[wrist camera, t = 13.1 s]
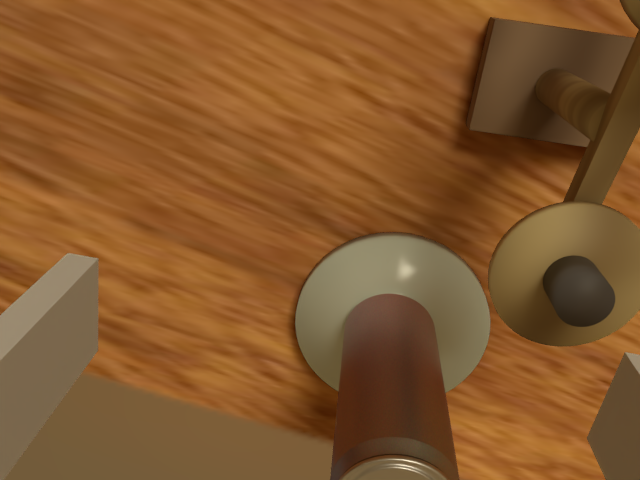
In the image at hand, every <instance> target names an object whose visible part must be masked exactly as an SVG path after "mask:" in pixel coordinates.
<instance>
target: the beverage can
mask: <svg viewBox="0 0 640 480" xmlns="http://www.w3.org/2000/svg"><path fill="white" fill-rule="evenodd" d="M330 480H459V474H458V468H457V462H456V455H455V449H454V443H453V437H452V431H451V425H450V418H449V412H448V406H447V400H446V394H445V388H444V381H443V375H442V369H441V363H440V357H439V351H438V344H437V338H436V332H435V326H434V322H433V320H432V318H431V316H430V314H429V313H428V311H427V310H426V309H425V308H424V307H423V306H422V305H421V304H420V303H418V302H417V301H415V300H413V299H411V298H409V297H406V296H403V295H399V294H390V293H388V294H379V295H375V296H372V297H370V298H367V299H365V300H364V301H362V302H360V303H359V304H358V305H357V306H356V307H355V308H354V309H353V310H352V311H351V312H350V314H349V316H348V318H347V320H346V323H345V328H344V339H343V349H342V360H341V371H340V382H339V392H338V403H337V414H336V424H335V435H334V446H333V457H332V468H331V479H330Z"/></svg>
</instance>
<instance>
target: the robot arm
mask: <svg viewBox="0 0 640 480" xmlns="http://www.w3.org/2000/svg"><path fill="white" fill-rule="evenodd" d="M97 351H98V258H93V257H87V256H82V255H76V254H70V253H67V254H66V255H65V256H64V257H63V258H62V259H61V260H60V261H59V262H58V263H56V264H55V265H54V266H53V267H52V268H51V269H50V270H49V271H48V272H47V273H46V274H45V275H43V276H42V277H41V278H40V279H39V280H38V281H37V282H36V283H35V284H34V285H33V286H31V287H30V288H29V289H28V290H27V291H26V292H25V293H24V294H23V295H22V296H21V297H20V298H18V299H17V300H16V301H15V302H14V303H13V304H12V305H11V306H10V307H9V308H8V309H6V310H5V311H4V312H3V313H2V314H1V315H0V480H4V479H5V478H6V476H7V475H8V473H9V472H10V471H11V469H12V468H13V466H14V465H15V464H16V462H17V461H18V460H19V458H20V457H21V456H22V454H23V453H24V451H25V450H26V449H27V447H28V446H29V444H30V443H31V442H32V440H33V439H34V438H35V436H36V435H37V433H38V432H39V431H40V429H41V428H42V427H43V425H44V424H45V423H46V421H47V420H48V418H49V417H50V416H51V414H52V413H53V412H54V410H55V409H56V407H57V406H58V405H59V403H60V402H61V400H62V399H63V398H64V396H65V395H66V394H67V392H68V391H69V389H70V388H71V387H72V385H73V384H74V383H75V381H76V380H77V378H78V377H79V376H80V374H81V373H82V372H83V370H84V369H85V367H86V366H87V365H88V363H89V362H90V361H91V359H92V358H93V356H94V355H95V354H96V352H97ZM587 440H588V442H589V444H590V446H591V448H592V450H593V453H594V455H595V457H596V459H597V461H598V464H599V466H600V468H601V470H602V472H603V474H604V477H605V479H606V480H640V355H637V354H632V353H626V352H625V353H624V356H623V358H622V360H621V362H620V365H619V367H618V369H617V371H616V374H615V376H614V378H613V380H612V383H611V385H610V387H609V389H608V392H607V394H606V396H605V398H604V401H603V403H602V405H601V407H600V410H599V412H598V414H597V416H596V419H595V421H594V423H593V425H592V428H591V430H590V432H589V434H588V437H587Z"/></svg>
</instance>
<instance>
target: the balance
mask: <svg viewBox="0 0 640 480" xmlns="http://www.w3.org/2000/svg"><path fill="white" fill-rule="evenodd" d="M620 2H621V5H622V7H623V9H624V11H625V12H626V14H627V15H628V17H629V19H630V20H631V22H632V23H633V24H634V25H635V26H636V27H637V28H638V29H639V31H638V33H637V35H636V37H635V38H632V37H625V36H618V35H611V34H604V33H597V32H590V31H583V30H576V29H569V28H562V27H555V26H548V25H541V24H534V23H527V22H520V21H513V20H506V19H499V18H492V17H490V21H489V25H488V30H487V34H486V38H485V43H484V47H483V51H482V56H481V60H480V64H479V69H478V73H477V77H476V82H475V86H474V90H473V94H472V99H471V103H470V107H469V112H468V116H467V120H466V125H467V127H468V129H469V130H474V131H481V132H488V133H494V134H501V135H508V136H515V137H521V138H528V139H535V140H542V141H549V142H555V143H562V144H569V145H576V146H582V147H587V149H586V151H585V153H584V155H583V158H582V160H581V162H580V164H579V167H578V169H577V171H576V173H575V176H574V178H573V180H572V183H571V185H570V187H569V189H568V192H567V194H566V196H565V198H564V201H563V202H562V203H556V204H553V205H549V206H546V207H543V208H541V209H538V210H536V211H534V212H532V213H530V214H529V215H527V216H525V217H524V218H522V219H521V220H520V221H518V222H517V223H516V224H515V225H514V226H512V227H511V228H510V229H509V230H508V231H507V233H506V234H505V235H504V236H503V237H502V239H501V240H500V242H499V243H498V244H497V246H496V248H495V250H494V252H493V255H492V258H491V260H490V264H489V269H488V287H489V292H490V295H491V299H492V301H493V304H494V306H495V309H496V311H497V313H498V314H499V316H500V317H501V319H502V320H503V321H504V322H505V323H506V325H507V326H508V327H510V328H511V329H512V330H513V331H514V332H516V333H517V334H519V335H520V336H522V337H524V338H526V339H528V340H531V341H534V342H537V343H540V344H545V345H550V346H575V345H581V344H586V343H590V342H593V341H596V340H599V339H601V338H603V337H606V336H608V335H610V334H611V333H613V332H615V331H616V330H618V329H619V328H621V327H622V326H623V325H625V324H626V323H627V322H628V321H629V320H630V319H631V318H633V317H634V315H635V314H636V313H637V312H638V311H639V310H640V229H639V228H638V227H637V226H636V225H635V224H634V223H633V222H632V221H631V220H629V219H628V218H627V217H626V216H624V215H623V214H622V213H620V212H618V211H616V210H615V209H613V208H611V207H608V206H605V205H602V203H603V201H604V199H605V197H606V194H607V192H608V190H609V188H610V186H611V184H612V182H613V180H614V178H615V176H616V174H617V172H618V170H619V168H620V166H621V164H622V162H623V160H624V158H625V156H626V154H627V152H628V150H629V148H630V146H631V144H632V142H633V140H634V138H635V136H636V134H637V133H638V130H639V128H640V0H620Z"/></svg>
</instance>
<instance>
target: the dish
mask: <svg viewBox="0 0 640 480" xmlns="http://www.w3.org/2000/svg"><path fill="white" fill-rule="evenodd" d="M388 293H390V294H399V295H403V296H406V297H409V298H411V299H413V300H415V301H417V302H418V303H420V304H421V305H422V306H423V307H424V308H425V309H426V310H427V311H428V313H429V314H430V316H431V318H432V320H433V322H434V326H435V332H436V338H437V344H438V351H439V357H440V363H441V369H442V375H443V381H444V388H445V393H446V392H448V391H450V390H451V389H453V388H455V387H456V386H457V385H458V384H460V383H461V382H462V381H463V380H464V379H465V378H466V377H467V376H468V375H469V374H470V373H471V372H472V371H473V370H474V368H475V367H476V366H477V364H478V363H479V361H480V359H481V357H482V356H483V354H484V351H485V349H486V346H487V343H488V339H489V334H490V313H489V308H488V304H487V300H486V297H485V294H484V291H483V289H482V286H481V284H480V282H479V280H478V278H477V277H476V275H475V273H474V272H473V270H472V269H471V268H470V267H469V265H468V264H467V263H466V262H465V261H464V260H463V259H462V258H461V257H460V256H458V255H457V254H456V253H455V252H453V251H452V250H450V249H449V248H447V247H446V246H444V245H442V244H440V243H438V242H436V241H434V240H431V239H428V238H425V237H423V236H419V235H414V234H409V233H399V232H382V233H376V234H369V235H365V236H362V237H358V238H355V239H353V240H350V241H348V242H346V243H344V244H342V245H340V246H338V247H337V248H335V249H333V250H332V251H331V252H329V253H328V254H327V255H326V256H324V257H323V258H322V259H321V260H320V261H319V262H318V263H317V264H316V265H315V267H314V268H313V269H312V271H311V272H310V273H309V275H308V277H307V279H306V281H305V282H304V285H303V287H302V290H301V293H300V296H299V300H298V305H297V310H296V318H295V327H296V336H297V340H298V344H299V347H300V349H301V351H302V354H303V356H304V358H305V359H306V361H307V363H308V364H309V366H310V367H311V368H312V369H313V371H314V372H315V373H316V374H317V375H318V376H319V377H320V378H321V379H322V380H323V381H324V382H325V383H327V384H328V385H329V386H331V387H332V388H333V389H335V390H337V391H338V392H339V382H340V371H341V360H342V349H343V339H344V328H345V323H346V320H347V318H348V316H349V314H350V312H351V311H352V310H353V309H354V308H355V307H356V306H357V305H358V304H359V303H360V302H362V301H364V300H365V299H367V298H370V297H372V296H375V295H379V294H388Z"/></svg>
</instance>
